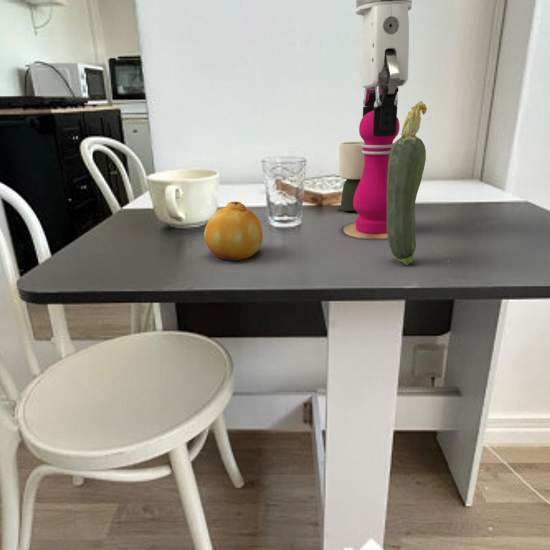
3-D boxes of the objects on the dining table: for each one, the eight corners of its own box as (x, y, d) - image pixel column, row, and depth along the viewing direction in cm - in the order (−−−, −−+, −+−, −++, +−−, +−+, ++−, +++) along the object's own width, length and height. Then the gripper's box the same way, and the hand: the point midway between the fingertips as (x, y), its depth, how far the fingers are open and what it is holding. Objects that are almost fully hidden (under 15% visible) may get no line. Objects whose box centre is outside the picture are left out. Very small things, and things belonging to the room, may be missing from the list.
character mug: (388, 214, 83) (392, 143, 78) (356, 219, 81) (358, 146, 76) (356, 204, 93) (358, 139, 88) (327, 208, 90) (327, 142, 85)
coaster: (401, 224, 76) (401, 221, 76) (409, 240, 67) (409, 237, 67) (343, 224, 78) (343, 221, 78) (343, 240, 69) (343, 237, 68)
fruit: (275, 232, 66) (245, 188, 63) (269, 254, 59) (234, 205, 56) (232, 258, 69) (201, 216, 66) (221, 281, 61) (186, 236, 59)
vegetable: (380, 266, 57) (388, 102, 50) (384, 256, 61) (392, 102, 54) (416, 269, 56) (429, 100, 48) (418, 258, 59) (431, 100, 52)
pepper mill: (379, 237, 67) (386, 98, 60) (343, 229, 73) (345, 100, 65) (406, 228, 72) (415, 97, 65) (370, 221, 77) (375, 98, 70)
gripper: (433, -19, 52) (421, 137, 59) (393, 10, 68) (387, 130, 75) (370, -16, 52) (365, 139, 59) (346, 12, 68) (344, 132, 75)
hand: (378, 133), depth 67 cm, fingers open, 6 cm apart
